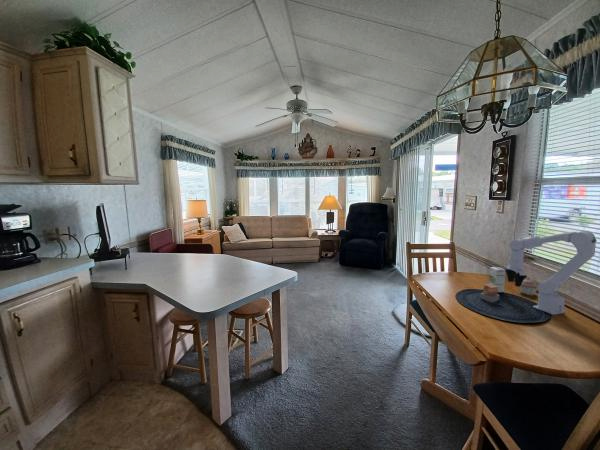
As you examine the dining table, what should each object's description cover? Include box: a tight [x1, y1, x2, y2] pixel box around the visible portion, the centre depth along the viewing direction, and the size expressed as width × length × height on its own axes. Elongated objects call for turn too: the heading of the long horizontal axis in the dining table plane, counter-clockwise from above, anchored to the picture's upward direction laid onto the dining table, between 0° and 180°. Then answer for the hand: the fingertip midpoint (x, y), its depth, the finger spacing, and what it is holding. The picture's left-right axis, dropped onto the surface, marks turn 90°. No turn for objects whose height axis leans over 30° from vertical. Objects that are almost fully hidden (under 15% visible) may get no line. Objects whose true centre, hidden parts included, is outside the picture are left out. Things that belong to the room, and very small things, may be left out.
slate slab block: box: [479, 292, 500, 304], centre depth 147 cm, size 6×6×4 cm
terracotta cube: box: [482, 283, 499, 296], centre depth 147 cm, size 4×4×5 cm
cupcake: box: [519, 277, 539, 296], centre depth 154 cm, size 9×9×10 cm
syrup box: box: [488, 266, 506, 293], centre depth 159 cm, size 6×6×14 cm
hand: (514, 283), depth 145 cm, fingers open, 7 cm apart
